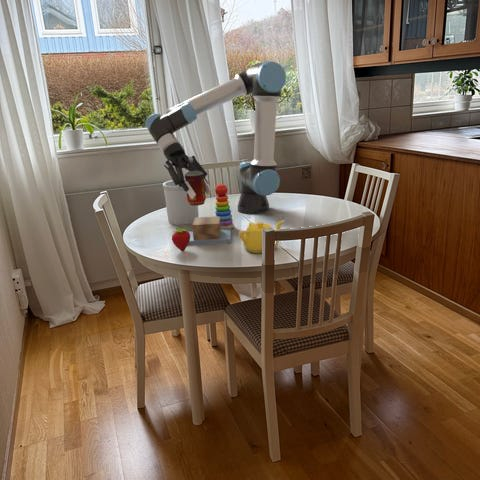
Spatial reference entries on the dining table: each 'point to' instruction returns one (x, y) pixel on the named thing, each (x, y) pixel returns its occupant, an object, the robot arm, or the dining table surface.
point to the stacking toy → (223, 207)
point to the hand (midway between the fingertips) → (201, 194)
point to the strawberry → (181, 238)
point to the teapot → (255, 236)
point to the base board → (224, 238)
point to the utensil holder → (178, 205)
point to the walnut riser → (206, 228)
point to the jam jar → (196, 187)
